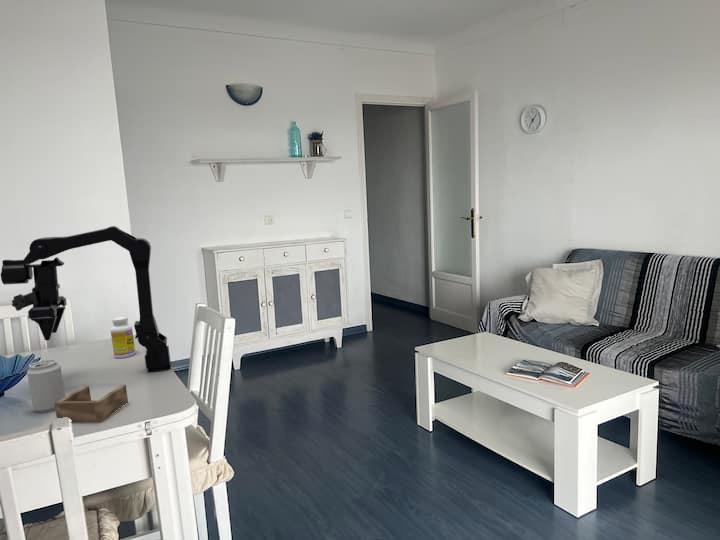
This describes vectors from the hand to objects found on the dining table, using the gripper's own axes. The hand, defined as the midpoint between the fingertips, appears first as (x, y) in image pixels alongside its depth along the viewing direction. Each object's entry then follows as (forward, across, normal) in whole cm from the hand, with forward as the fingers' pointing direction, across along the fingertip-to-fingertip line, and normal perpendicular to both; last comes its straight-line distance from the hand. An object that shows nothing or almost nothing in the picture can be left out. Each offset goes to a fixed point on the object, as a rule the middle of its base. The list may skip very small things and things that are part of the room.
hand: (50, 336), depth 156 cm
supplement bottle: (+14, -22, +17) cm, 31 cm away
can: (+14, +19, +2) cm, 24 cm away
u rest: (+14, +29, +14) cm, 35 cm away
